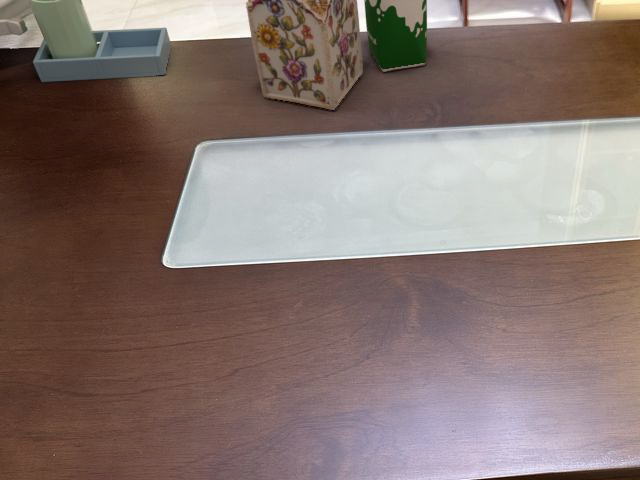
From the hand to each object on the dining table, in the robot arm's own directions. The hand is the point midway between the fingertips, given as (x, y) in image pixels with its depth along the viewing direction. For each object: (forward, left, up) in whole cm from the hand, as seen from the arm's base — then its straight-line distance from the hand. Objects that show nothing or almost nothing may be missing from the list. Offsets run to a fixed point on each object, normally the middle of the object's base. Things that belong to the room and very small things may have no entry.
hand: (44, 13), depth 105 cm
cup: (+2, -2, -7) cm, 7 cm away
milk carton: (+43, -28, -8) cm, 52 cm away
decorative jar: (+28, -28, -8) cm, 40 cm away
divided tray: (+5, -4, -7) cm, 10 cm away
